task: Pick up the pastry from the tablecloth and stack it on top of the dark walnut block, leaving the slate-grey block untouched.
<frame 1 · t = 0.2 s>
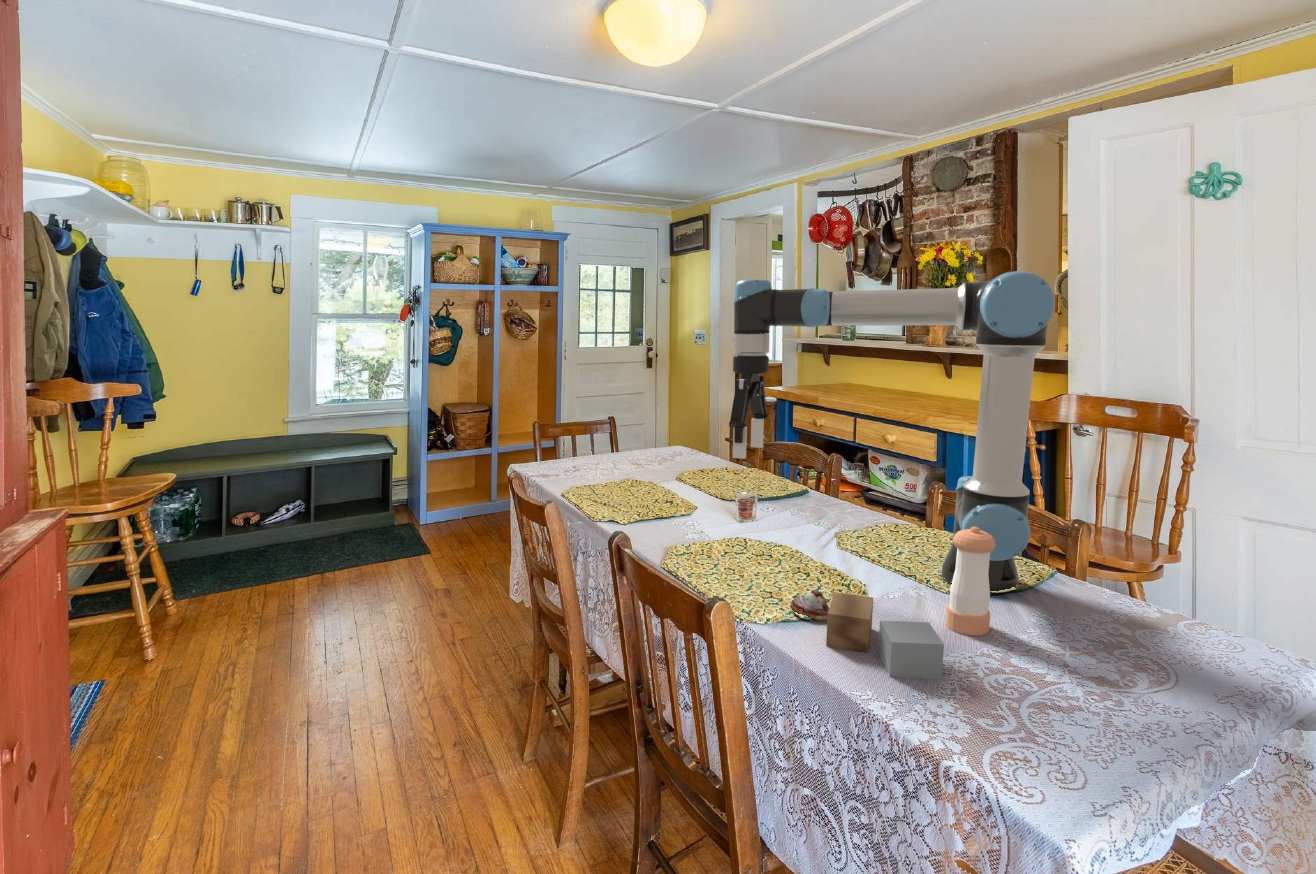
hand: (748, 452, 148), 28 cm above the table, tool pointing down, fingers open, 13 cm apart
walnut block: (849, 636, 122), on the table
pepper shaker: (966, 628, 126), on the table
pastry: (810, 615, 132), on the table
slate block: (908, 666, 112), on the table
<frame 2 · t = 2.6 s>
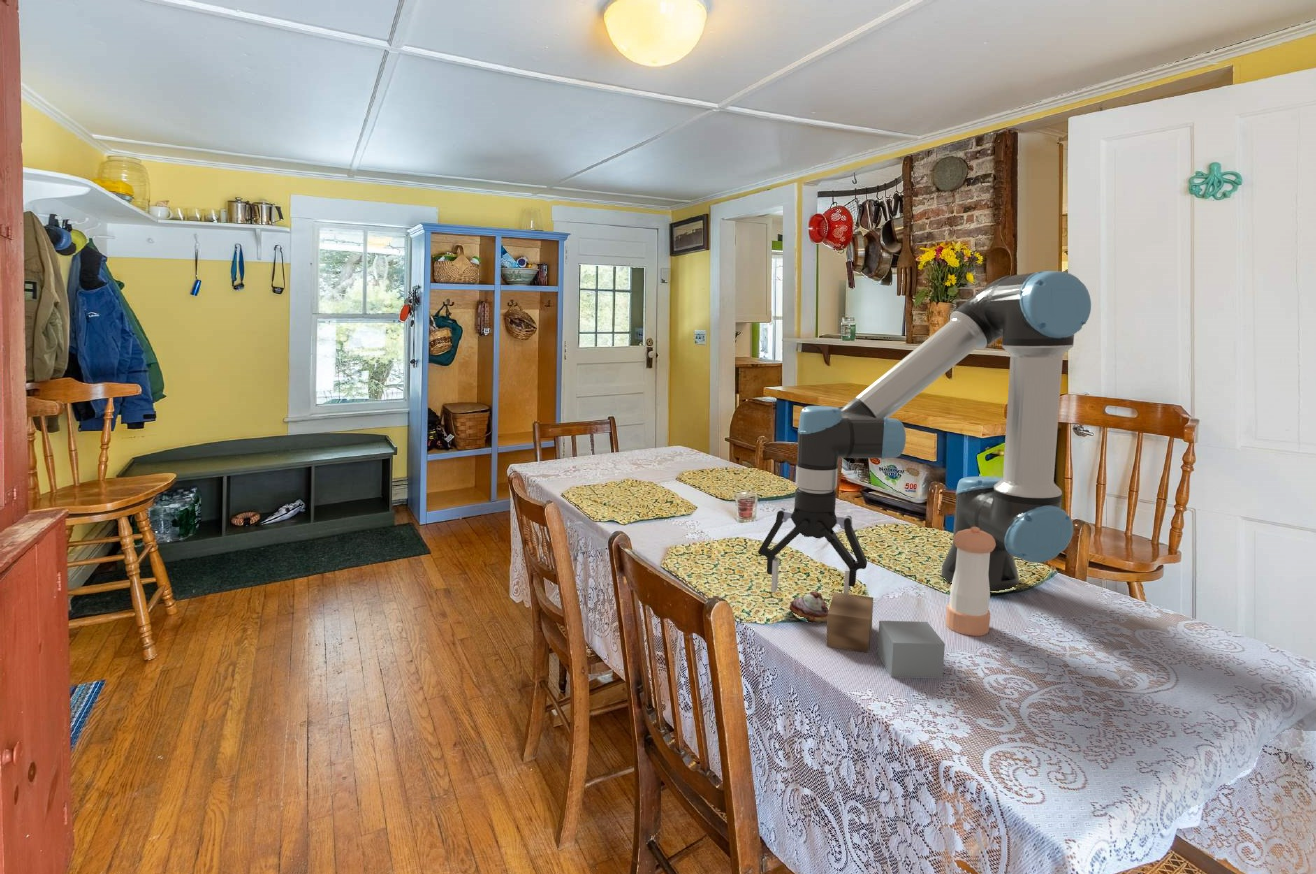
hand: (809, 595, 131), 3 cm above the table, tool pointing down, fingers open, 13 cm apart
nothing on the table moved.
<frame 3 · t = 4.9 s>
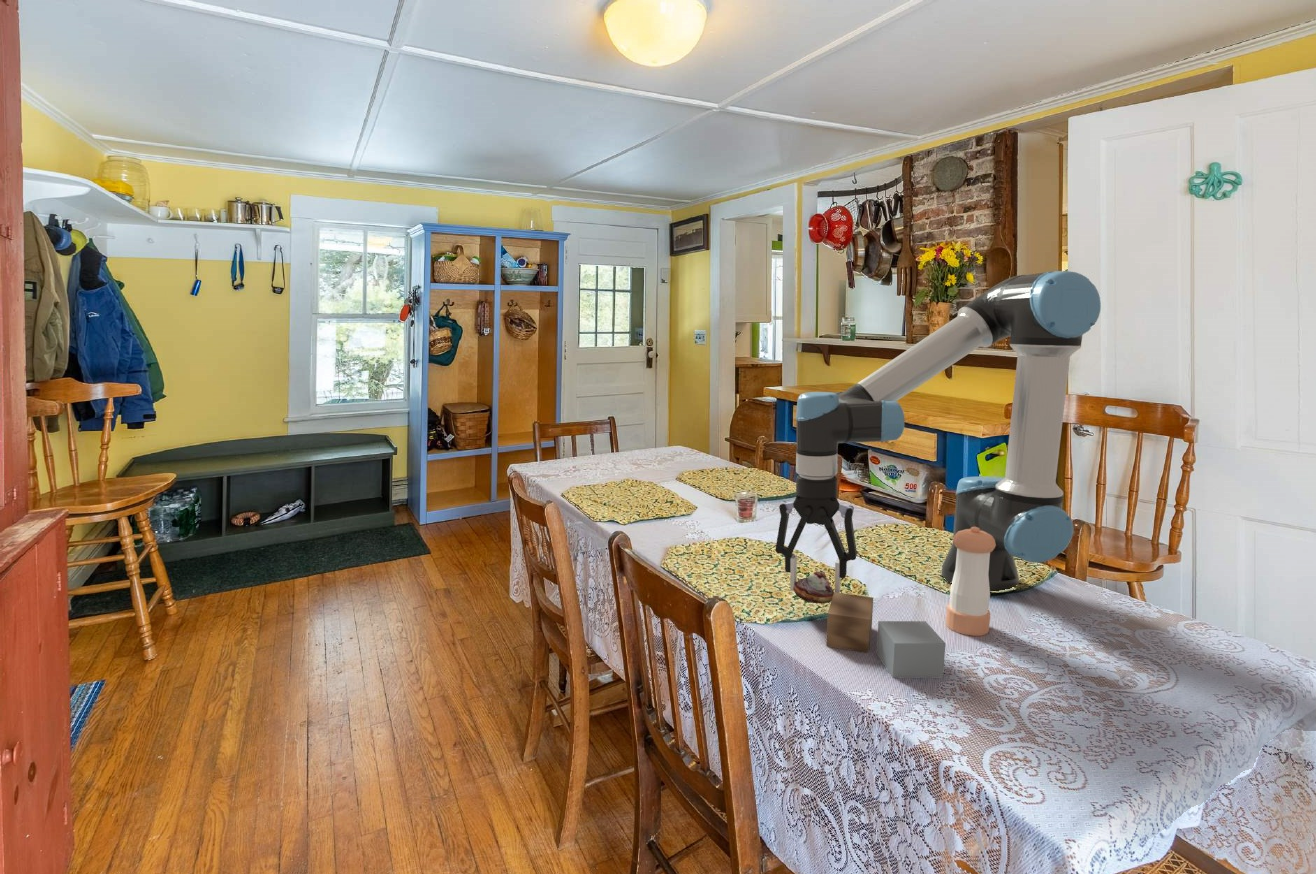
hand: (815, 590, 131), 5 cm above the table, tool pointing down, fingers closed on pastry, 8 cm apart
pastry: (813, 597, 130), point 4 cm above the table, touching gripper
everything else where it was.
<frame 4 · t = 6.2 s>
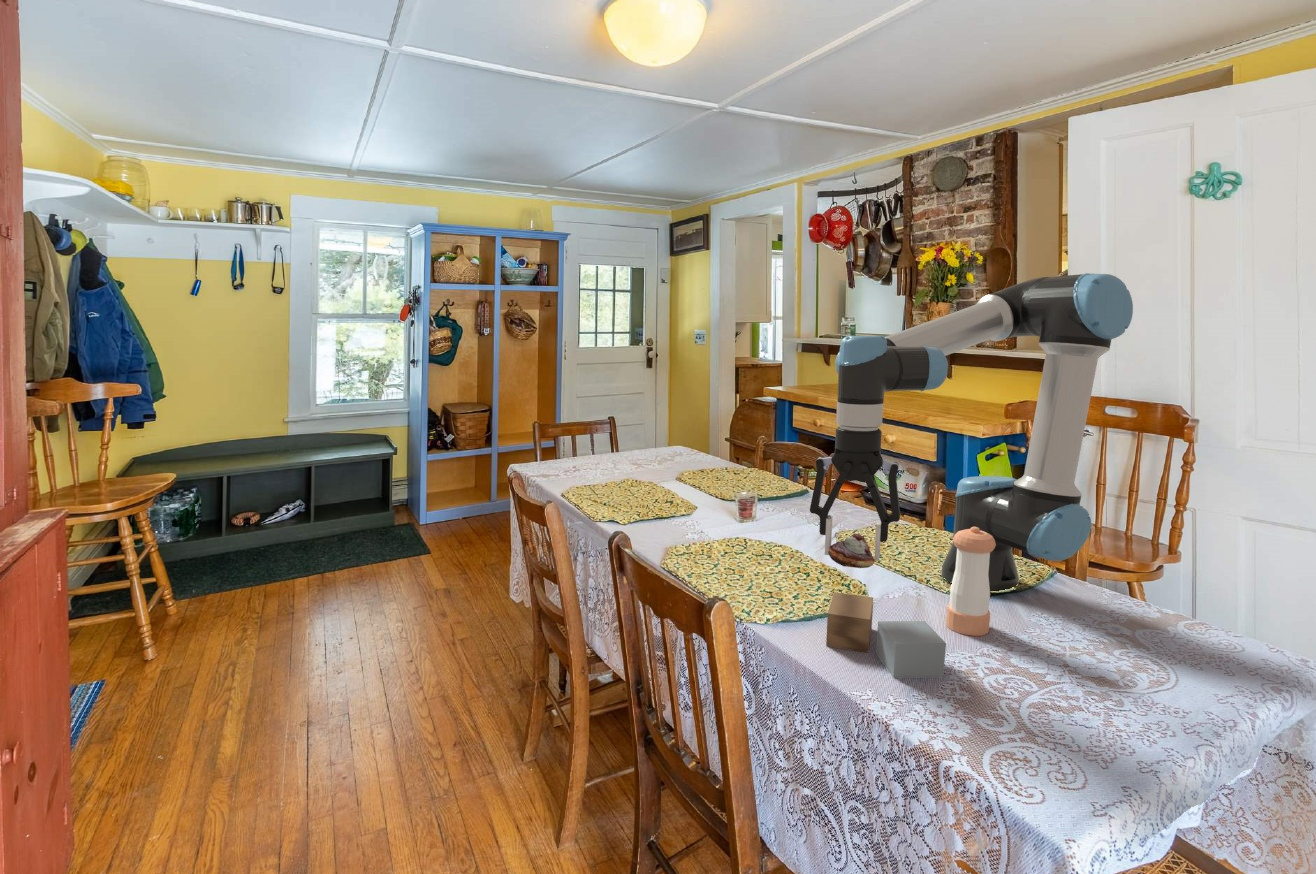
hand: (852, 555, 119), 15 cm above the table, tool pointing down, fingers closed on pastry, 8 cm apart
pastry: (850, 562, 118), point 14 cm above the table, touching gripper
everything else where it was.
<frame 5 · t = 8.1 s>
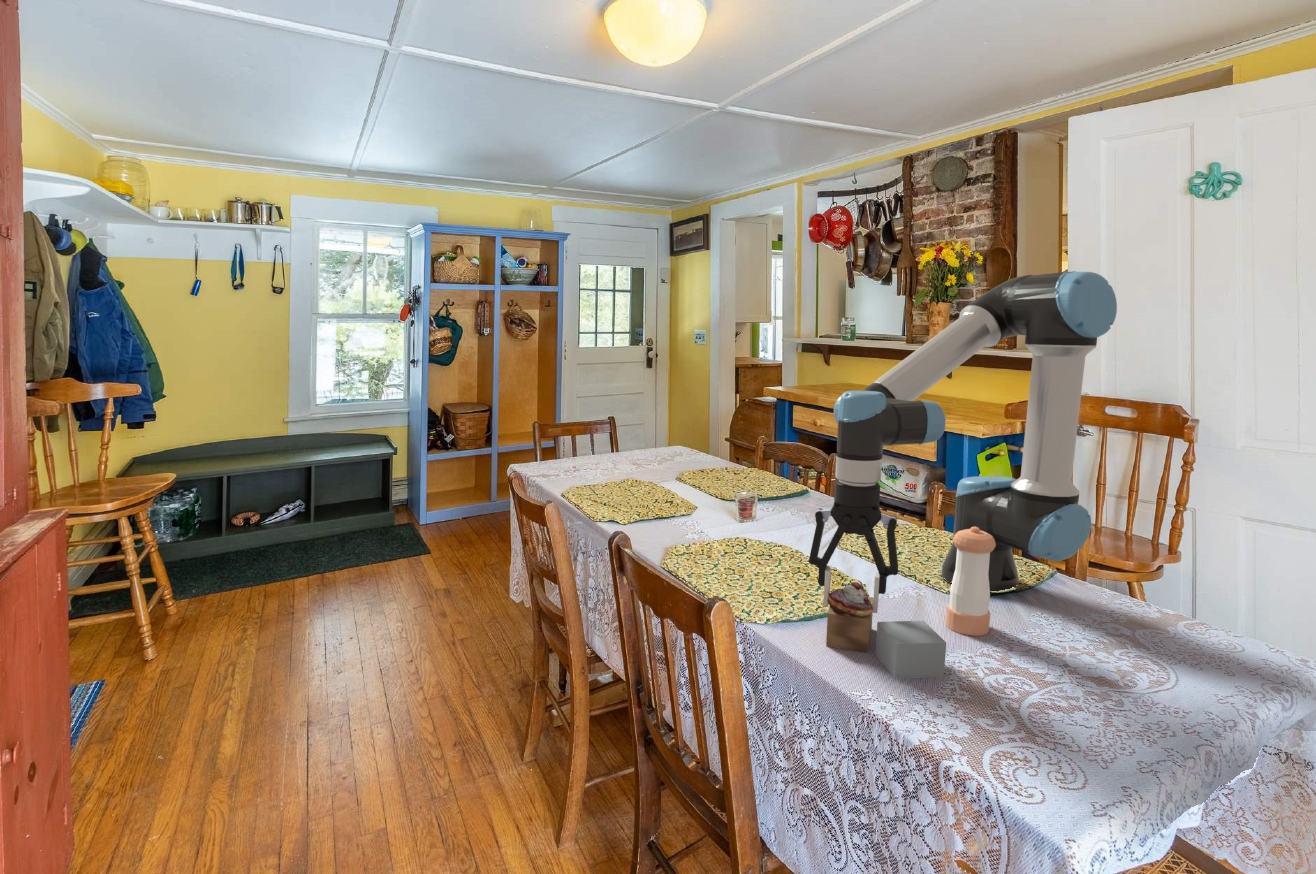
hand: (850, 606, 121), 6 cm above the table, tool pointing down, fingers closed on pastry, 8 cm apart
pastry: (849, 610, 119), point 6 cm above the table, touching gripper, walnut block
everything else where it was.
when the fingers open (6 cm above the table, at t = 8.7 s): pastry stays where it is, resting on walnut block.
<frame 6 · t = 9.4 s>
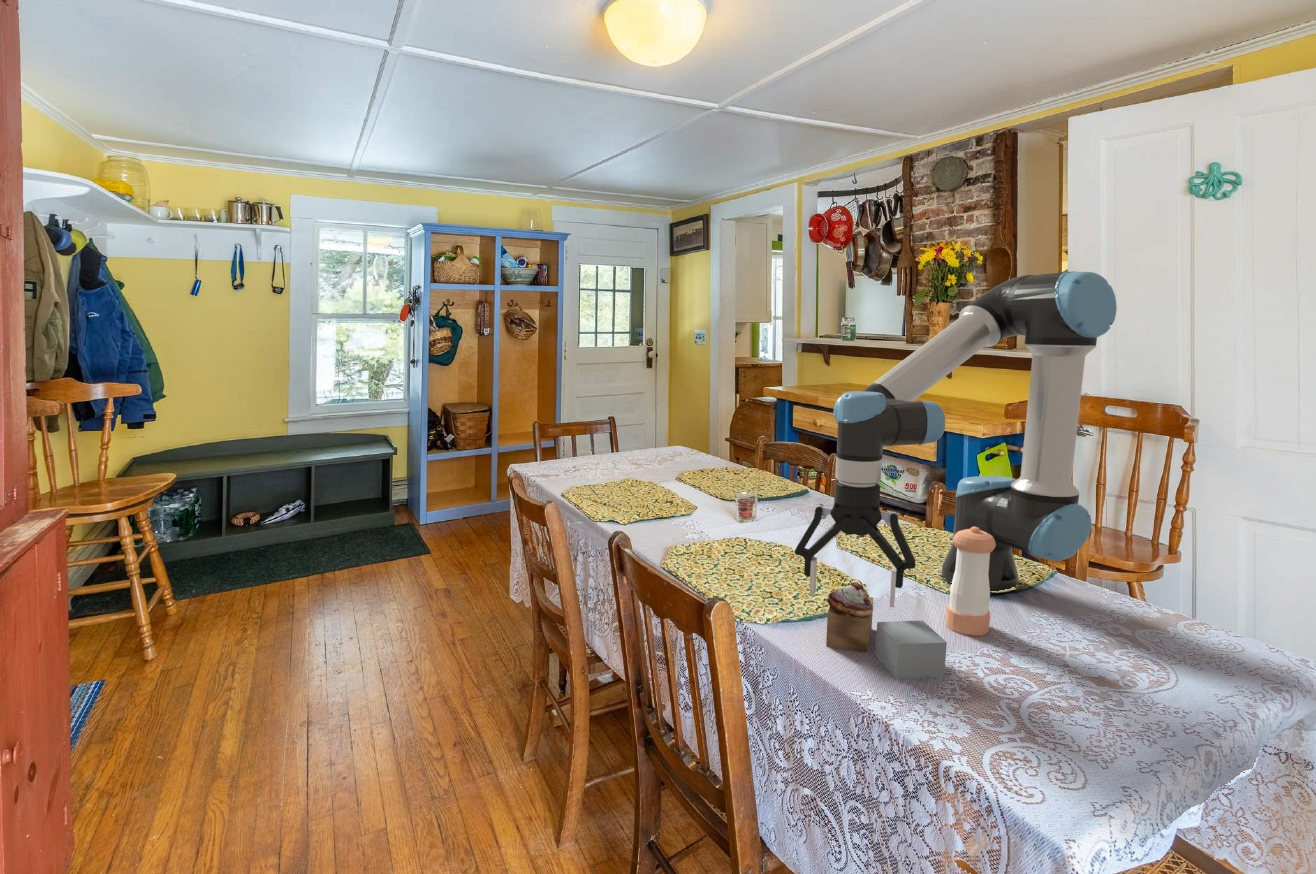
hand: (851, 598, 120), 7 cm above the table, tool pointing down, fingers open, 13 cm apart
pastry: (849, 610, 119), point 6 cm above the table, touching walnut block
everything else where it was.
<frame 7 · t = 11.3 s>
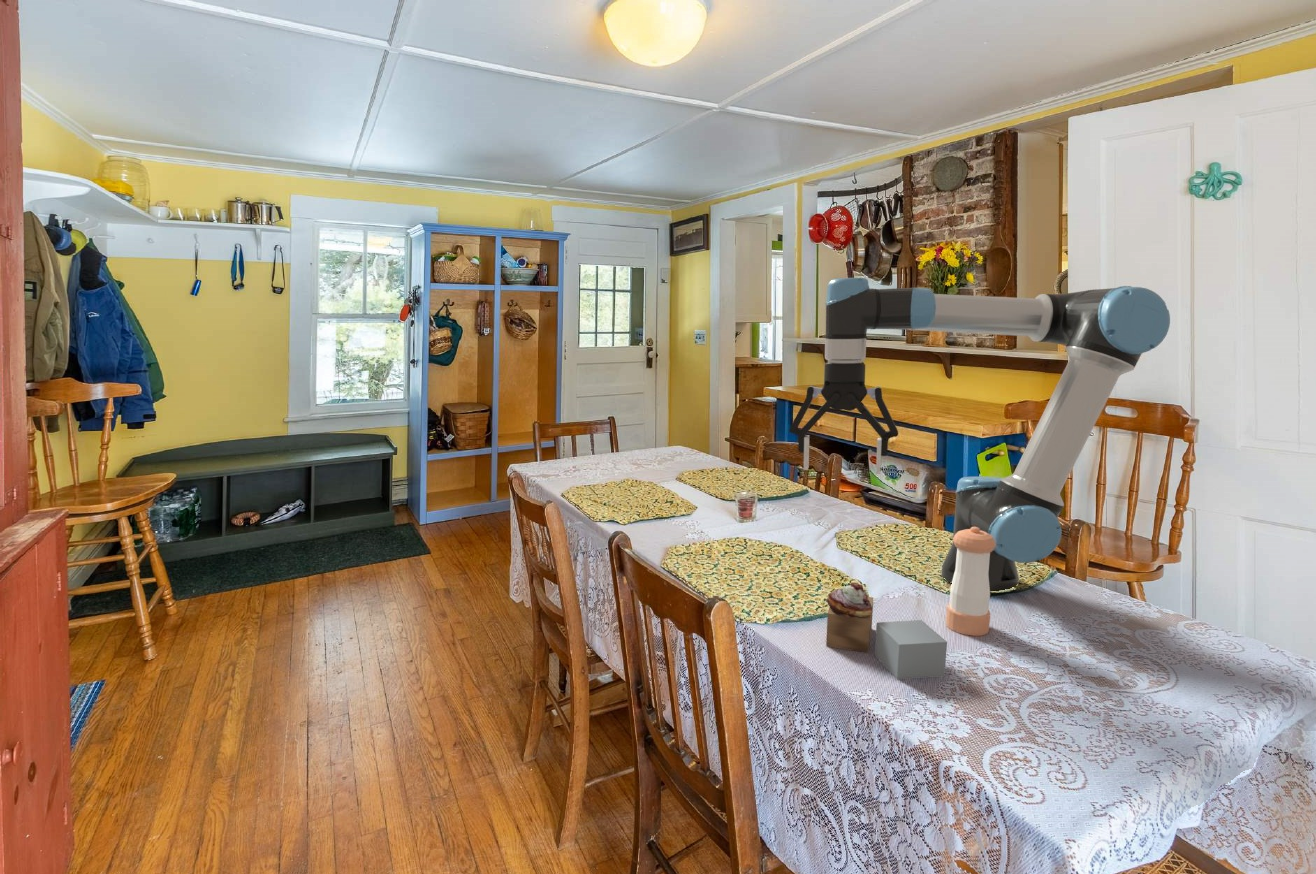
hand: (841, 470, 133), 27 cm above the table, tool pointing down, fingers open, 13 cm apart
nothing on the table moved.
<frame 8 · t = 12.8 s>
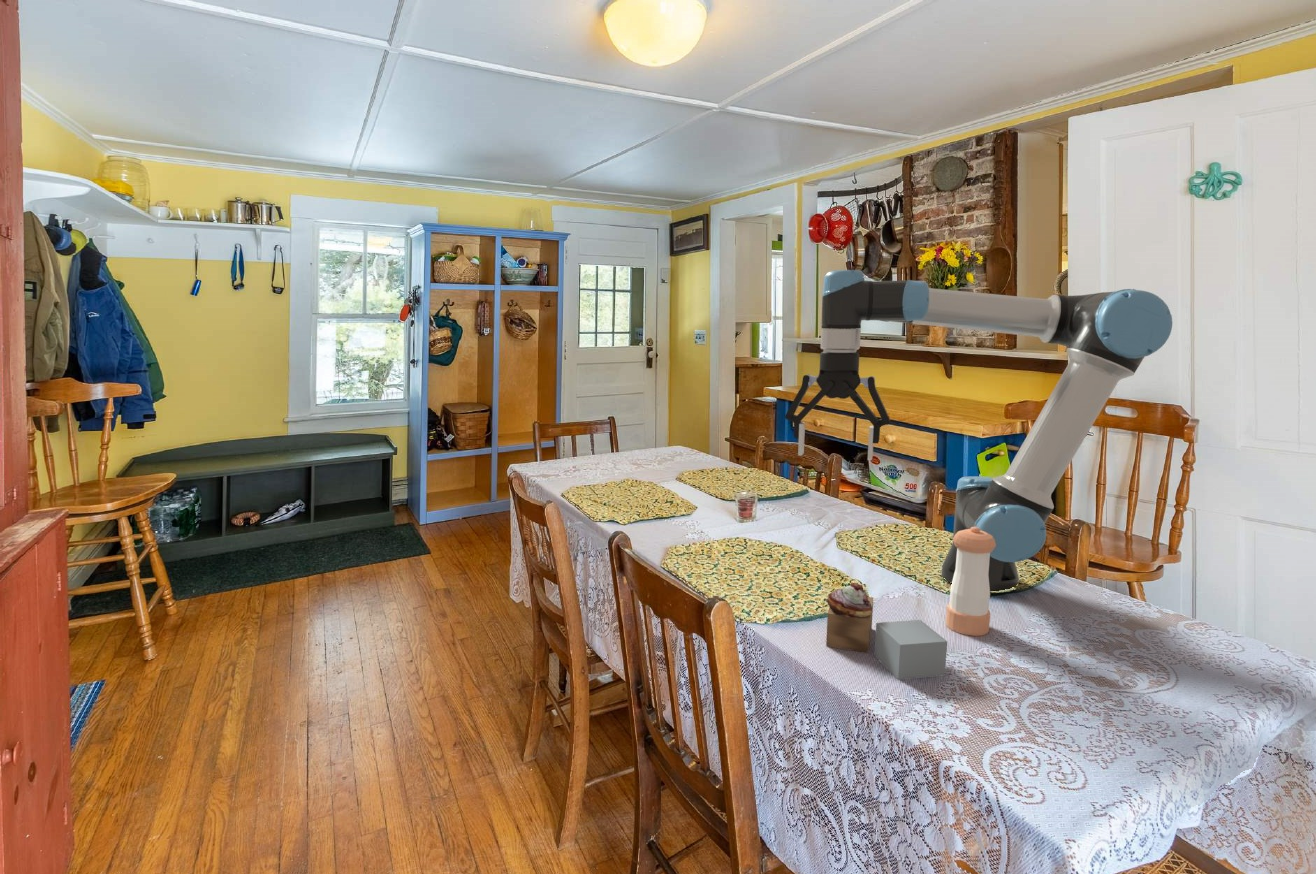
hand: (834, 457, 137), 29 cm above the table, tool pointing down, fingers open, 13 cm apart
nothing on the table moved.
at the end: pastry inside the target area on the walnut block (2.1 cm from its centre), point 5.8 cm above the walnut block's base; pastry touching walnut block; slate block moved 0.2 cm from its start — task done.
